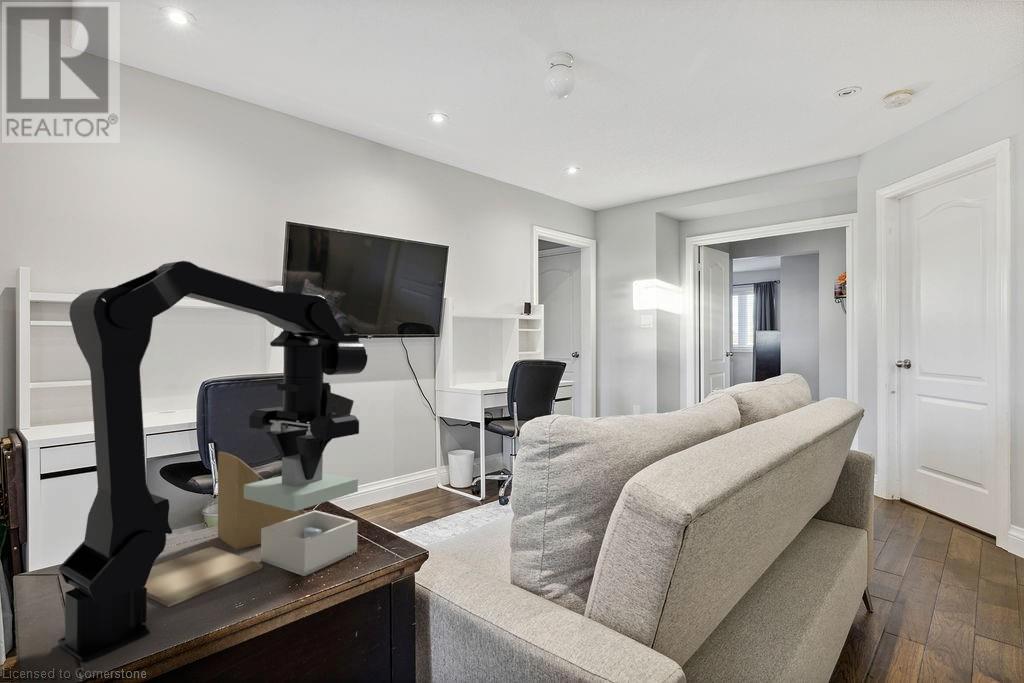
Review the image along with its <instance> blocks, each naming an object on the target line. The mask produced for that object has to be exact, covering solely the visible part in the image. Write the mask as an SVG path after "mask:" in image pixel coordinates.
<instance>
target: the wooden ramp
mask: <svg viewBox="0 0 1024 683" xmlns="http://www.w3.org/2000/svg"><path fill="white" fill-rule="evenodd" d="M262 480H266V479H265V478H264V477H262V475H260V474H259V473H257V472H256V471H255V470H254V469H253V468H251V467H250V466H249V465H248V464H247V463H245V462H244V461H243V460H241V459H240V458H239V457H238V456H235V455H233V454H231V453H228V452H224V451H222V450H218V452H217V538H219V539H220V540H221V541H223V542H224V543H226V544H227V545H229V546H230V547H232V548H233V549H235V550H241V549H245V548H249V547H253V546H256V545H261V528H264V527H267V526H270V525H273V524H276V523H279V522H282V521H285V520H288V519H291V518H294V517H297V516H300V515H303V514H306V513H308V512H307V511H306V510H304V509H301V510H298V511H291V510H287V509H283V508H279V507H276V506H272V505H268V504H264V503H260V502H256V501H253V500H249V499H245V498H244V485H245V484H249V483H254V482H258V481H262Z"/></svg>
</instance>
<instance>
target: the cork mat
mask: <svg viewBox="0 0 1024 683" xmlns="http://www.w3.org/2000/svg"><path fill="white" fill-rule="evenodd" d="M260 570H263V563H260V562H256V561H254V560H251V559H248V558H245V557H243V556H240V555H236V554H235V553H231V552H229V551H227V550H222V549H221V548H217V547H216V546H215V547H214V546H209V547H206V548H203V549H200V550H197V551H194V552H191V553H188V554H185V555H183V556H180V557H176V558H173V559H171V560H167V561H165V562H162V563H159V564H155V565H153V566H152V569H151V571H150V574H149V577H148V580H147V582H146V585H145V586H144V587H146V588H147V598H149V599H152V600H154V601H155V602H157V603H159V604H162V605H164V606H166V607H168V608H170V607H172V606H174V605H176V604H177V605H178V604H179V603H182V602H184V601H187V600H189V599H192V598H194V597H196V596H199V595H202V594H203V593H206V592H209V591H211V590H213V589H216V588H219V587H221V586H223V585H225V584H228V583H230V582H232V581H235V580H238V579H240V578H242V577H245V576H247V575H249V574H252V573H255V572H257V571H260Z"/></svg>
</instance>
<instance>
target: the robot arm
mask: <svg viewBox="0 0 1024 683" xmlns="http://www.w3.org/2000/svg"><path fill="white" fill-rule="evenodd" d="M185 297H187V298H190V299H193V300H194V299H195V300H198V301H201V302H205V303H209V304H213V305H216V306H221V307H224V308H229V309H232V310H237V311H240V312H244V313H247V314H250V315H251V314H252V315H255V316H258V317H261V318H262V319H265V320H266V321H267V322H269V323H270V324H271V325H273V326H275V327H276V328H277V327H278V328H279V329H282V331H281V332H280V333H279V335H278V336H277V337H275V338H274V339H273V340H272V341H270V343H269V345H270V347H274V348H277V347H279V348H283V382H279V383H277V384H276V386H277V387H276V390H277V391H282V392H283V394H282V395H283V397H282V398H283V399H282V401H283V402H282V404H283V405H282V406H277V407H266V408H265V407H264V408H257V409H254V410H253V411H252V412H251V414H249V417H248V418H249V419H248V420H249V422H248V423H249V425H248V426H249V427H248V428H250V429H257V430H263V429H264V427H265V426H270V431H266V433H265V435H266V436H268V437H269V438H270V440H271V441H272V443H273V445H274V446H275V448H276V450H277V452H278V454H279V456H280V457H281V459H282V458H283V457H288V456H292V455H297V454H299V455H300V459H301V464H302V468H303V472H304V475H305V479H306V480H311V479H313V477H314V475H315V472H316V469H317V467H318V464H319V461H320V458H321V456H322V454H323V453H324V451H325V448H326V446H327V445H328V444H329V443H330V442H331V441H332V440H333V439H338V438H344V437H349V436H353V435H359V434H360V420H359V419H358V418H357V416H356V415H355V414H351V413H352V409H353V407H354V406H353V405H354V403H355V402H354V399H350V398H348V397H345V396H342V395H340V394H337V393H333V392H332V391H331V390H332V388H331V384H330V382H324V374H325V375H326V376H335V375H336V376H337V375H341V376H342V375H356V374H357V375H358V374H361V372H363V371H364V370H365V368H366V366H367V363H368V353H367V351H366V350H367V349H366V348H365V346H364V344H363V343H362V342H361V341H360V335H359V334H358V333H344V331H343V329H342V328H341V326H340V324H339V322H338V321H337V319H336V318H335V315H334V314H333V313H332V310H331V306H330V305H329V301H328V299H327V298H326V297H324V296H322V295H320V294H314V293H313V294H312V293H305V292H297V291H296V292H294V291H293V292H292V291H281V290H280V291H279V290H275V289H272V288H268V287H265V286H262V285H259V284H255V283H253V282H249V281H246V280H243V279H239V278H237V277H233V276H230V275H227V274H223V273H220V272H217V271H214V270H211V269H207V268H204V267H201V266H199V265H196V264H195V263H193V262H191V261H186V260H181V261H180V260H179V261H174V262H173V261H172V262H167V263H163V264H161V265H160V266H158V267H157V268H155V269H153V270H151V271H150V272H147V273H145V274H142V275H140V276H138V277H135V278H132V279H129V280H127V281H125V282H123V283H121V284H118V285H116V286H114V287H106V288H105V287H104V288H94V289H89V290H87V291H84V292H82V293H80V295H78V296H77V297H76V298H75V299H74V300H72V301H71V304H70V307H69V312H68V315H69V318H70V323H71V326H72V329H73V335H74V337H75V340H76V344H77V345H78V348H79V349H80V351H81V353H82V355H83V358H84V359H85V361H86V362H87V365H88V366H89V370H90V383H91V384H90V386H91V398H92V399H91V400H92V401H91V402H92V413H93V414H92V416H93V433H94V446H95V447H94V448H95V462H96V478H97V480H96V481H97V490H96V491H97V492H96V495H95V497H94V500H93V501H92V504H91V507H90V508H89V509H90V510H89V511H88V514H87V520H86V529H85V533H84V540H83V541H82V543H80V544H79V546H77V548H76V549H75V550H74V551H73V552H72V553H71V554H70V555H69V556H68V557H67V558H66V559H65V560H64V561H63V563H62V564H61V565H60V566H59V567H58V572H59V573H60V575H61V578H62V579H63V581H64V582H65V583H66V584H68V585H70V586H72V587H74V588H73V589H70V590H68V591H65V593H64V596H65V597H64V636H63V637H61V638H59V639H58V640H57V645H58V646H59V647H60V648H61V649H63V650H64V651H66V652H67V653H68V654H70V655H72V656H73V657H75V658H76V659H77V660H79V661H80V662H86V661H89V660H92V659H95V658H96V657H98V656H100V655H104V654H106V653H108V652H110V651H112V650H115V649H117V648H120V647H121V646H123V645H126V644H128V643H131V642H133V641H135V640H137V639H139V638H142V637H145V636H147V635H148V634H150V632H151V631H150V626H149V627H148V626H147V625H145V623H146V622H147V619H148V597H147V588H146V587H144V586H145V585H146V582H147V580H148V577H149V574H150V571H151V569H152V567H153V566H154V563H155V561H156V560H157V558H158V557H159V556H160V554H162V553H163V552H164V550H165V548H166V545H167V534H168V535H171V534H172V533H173V529H171V526H170V524H169V514H170V500H169V499H167V498H165V497H162V496H159V495H157V494H153V493H151V491H150V489H149V487H148V485H147V484H148V483H147V469H146V466H147V465H146V450H145V449H146V448H145V434H144V432H145V431H144V419H143V418H144V416H143V397H142V382H141V380H142V379H141V364H142V361H143V359H144V356H145V355H146V351H147V350H148V347H149V344H150V342H151V336H152V328H153V321H154V318H155V317H157V316H159V315H161V314H162V313H164V312H166V311H168V310H170V309H171V308H172V307H173V306H175V305H176V304H177V303H179V302H180V301H181V300H183V298H185ZM294 333H296V334H297V336H296V335H295V334H294Z"/></svg>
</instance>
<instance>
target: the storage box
mask: <svg viewBox="0 0 1024 683" xmlns="http://www.w3.org/2000/svg"><path fill="white" fill-rule="evenodd" d="M355 552H356V553H358V520H355V519H351V518H347V517H343V516H340V515H335V514H331V513H328V512H324V511H319V510H312V511H309V512H307V513H306V514H303V515H300V516H297V517H294V518H291V519H288V520H285V521H282V522H279V523H276V524H273V525H270V526H267V527H264V528H261V543H260V561H261V562H263V563H266V564H268V565H272V566H274V567H277V568H280V569H283V570H285V571H289V572H291V573H294V574H297V575H300V576H301V577H306V576H308V575H311V574H313V573H316V572H317V571H320V570H321V569H324V568H326V567H328V566H330V565H332V564H335V563H337V562H339V561H341V560H343V559H345V558H347V556H348V557H349V555H350V556H352V555H354V554H356V553H355ZM353 553H354V554H353Z"/></svg>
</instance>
